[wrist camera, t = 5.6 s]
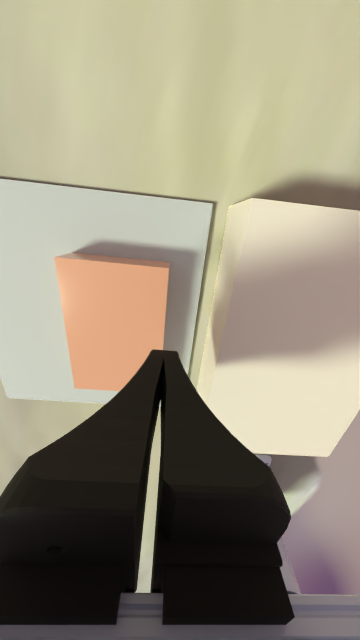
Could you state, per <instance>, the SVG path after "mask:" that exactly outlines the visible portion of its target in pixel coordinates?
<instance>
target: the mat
mask: <svg viewBox="0 0 360 640" xmlns="http://www.w3.org/2000/svg"><path fill="white" fill-rule="evenodd" d="M212 206H213V203H204V202H196V201H187V200H178V199H170V198H161V197H153V196H144V195H136V194H127V193H119V192H110V191H102V190H93V189H85V188H76V187H68V186H59V185H51V184H42V183H33V182H25V181H16V180H8V179H0V378H1V381H2V384H3V387H4V390H5V393H6V395H7V398H16V399H32V400H49V401H66V402H83V403H99V404H107V403H108V402H109V401H110V400H111V399H112V398H113V397H114V396H115V395H116V394H117V393H118V392H119V391H108V390H92V389H76V388H74V382H73V375H72V369H71V362H70V356H69V349H68V343H67V337H66V330H65V324H64V317H63V311H62V304H61V298H60V291H59V285H58V278H57V272H56V265H55V259H54V257H56V256H60V255H64V254H68V253H71V252H73V253H84V254H94V255H104V256H114V257H124V258H134V259H144V260H154V261H164V262H170V269H169V282H168V295H167V308H166V321H165V334H164V347H163V350H168V351H177V352H178V354H179V357H180V360H181V363H182V365H183V367H184V369H185V371H186V373H187V375H188V370H189V363H190V356H191V350H192V343H193V336H194V329H195V322H196V315H197V309H198V302H199V295H200V288H201V281H202V274H203V268H204V261H205V254H206V247H207V240H208V233H209V227H210V220H211V213H212ZM159 407H161V400H160V405H159Z"/></svg>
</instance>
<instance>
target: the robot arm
mask: <svg viewBox="0 0 360 640" xmlns="http://www.w3.org/2000/svg"><path fill="white" fill-rule="evenodd" d="M160 400H161V457H160V471H159V484H158V498H157V512H156V525H155V539H154V552H153V566H152V579H151V592H150V593H135V591H136V590H137V581H138V571H139V561H140V551H141V541H142V532H143V522H144V512H145V503H146V493H147V484H148V474H149V465H150V456H151V448H152V442H153V436H154V431H155V426H156V421H157V416H158V410H159V405H160ZM271 462H272V459H271V456H269V455H261V454H253V453H252V452H251V451H250V450H249V449H247V448H246V447H245V446H244V445H243V444H242V443H241V442H240V441H239V440H238V439H237V438H236V437H234V436H233V435H232V434H231V433H230V431H229V430H228V429H227V428H226V427H225V426H224V425H223V424H222V423H221V422H220V421H219V420H218V418H217V417H216V416H215V415H214V414H213V413H212V411H211V410H210V409H209V408H208V406H207V405H206V404H205V402H204V401H203V400H202V398H201V397H200V395H199V394H198V392H197V391H196V389H195V387H194V386H193V384H192V382H191V381H190V379H189V377H188V375H187V373H186V371H185V369H184V367H183V365H182V363H181V360H180V357H179V354H178V352H177V351H168V350H155V349H153V350H151V351H150V353H149V355H148V357H147V358H146V360H145V361H144V363H143V364H142V366H141V367H140V368H139V370H138V371H137V372H136V374H135V375H134V376H133V377H132V378H131V379H130V381H129V382H128V383H127V384H126V385H125V386H124V387H123V388H122V389H121V390H120V391H119V392H118V393H117V394H116V395H115V396H114V397H113V398H112V399H111V400H110V401H109V402H108V403H107V404H105V405H104V406H103V407H102V408H101V409H100V410H98V411H97V412H96V413H95V414H93V415H92V416H91V417H90V418H88V419H87V420H85V421H84V422H83V423H81V424H80V425H78V426H77V427H76V428H74V429H73V430H72V431H70V432H69V433H67V434H66V435H64V436H63V437H61V438H60V439H58V440H56V441H55V442H53V443H51V444H50V445H48V446H47V447H45V448H43V449H42V450H40V451H38V452H37V453H35V454H33V455H32V456H30V457H28V459H27V460H26V461H25V463H24V464H23V465H22V467H21V468H20V469H19V470H18V472H17V473H16V474H15V475H14V477H13V478H12V480H11V481H10V482H9V484H8V485H7V487H6V488H5V490H4V491H3V493H2V495H1V496H0V640H360V595H319V594H318V595H317V594H314V595H312V594H301V592H300V590H299V587H298V584H297V581H296V578H295V575H294V572H293V569H292V566H291V563H290V560H289V557H288V554H287V551H286V548H285V545H284V542H283V539H282V535H283V533H284V532H285V530H286V529H287V527H288V524H289V522H290V519H291V515H290V510H289V508H288V505H287V502H286V500H285V497H284V495H283V493H282V491H281V488H280V486H279V484H278V482H277V480H276V478H275V476H274V475H273V473H272V471H271V469H270V467H269V466H270V464H271Z"/></svg>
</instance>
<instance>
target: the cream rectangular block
mask: <svg viewBox="0 0 360 640" xmlns="http://www.w3.org/2000/svg"><path fill="white" fill-rule="evenodd" d="M197 392H198V394H199V395H200V397H201V398H202V400H203V401H204V402H205V404H206V405H207V406H208V408H209V409H210V410H211V411H212V413H213V414H214V415H215V416H216V417H217V418H218V420H219V421H220V422H221V423H222V424H223V425H224V426H225V427H226V428H227V429H228V430H229V431H230V433H231V434H232V435H233V436H234V437H236V438H237V439H238V440H239V441H240V442H241V443H242V444H243V445H244V446H245V447H246V448H247V449H249V450H250V451H251V452H252V453H257V454H278V455H298V456H319V457H329V456H330V454H331V453H332V451H333V449H334V448H335V446H336V445H337V443H338V442H339V440H340V439H341V437H342V436H343V434H344V433H345V431H346V430H347V428H348V427H349V425H350V423H351V422H352V420H353V419H354V417H355V416H356V414H357V413H358V411H359V409H360V211H357V210H349V209H340V208H332V207H324V206H316V205H307V204H299V203H291V202H282V201H274V200H266V199H257V198H251V199H248V200H245V201H242V202H239V203H236V204H233V205H231V206H229V209H228V215H227V221H226V226H225V232H224V238H223V243H222V249H221V255H220V260H219V266H218V272H217V277H216V283H215V289H214V294H213V300H212V306H211V311H210V317H209V323H208V328H207V334H206V340H205V345H204V351H203V357H202V362H201V368H200V374H199V379H198V385H197Z"/></svg>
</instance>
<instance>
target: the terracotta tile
mask: <svg viewBox="0 0 360 640" xmlns="http://www.w3.org/2000/svg"><path fill="white" fill-rule="evenodd" d="M54 259H55V265H56V272H57V278H58V285H59V291H60V298H61V304H62V311H63V317H64V324H65V330H66V337H67V343H68V349H69V356H70V362H71V369H72V375H73V382H74V388H76V389H92V390H108V391H120V390H121V389H122V388H123V387H124V386H125V385H126V384H127V383H128V382H129V381H130V379H131V378H132V377H133V376H134V375H135V374H136V372H137V371H138V370H139V368H140V367H141V366H142V364H143V363H144V361H145V360H146V358H147V357H148V355H149V353H150V351H151V350H153V349H155V350H163V347H164V334H165V321H166V308H167V295H168V282H169V269H170V262H164V261H154V260H144V259H134V258H124V257H114V256H104V255H94V254H84V253H73V252H71V253H68V254H64V255H60V256H56V257H54Z"/></svg>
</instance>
